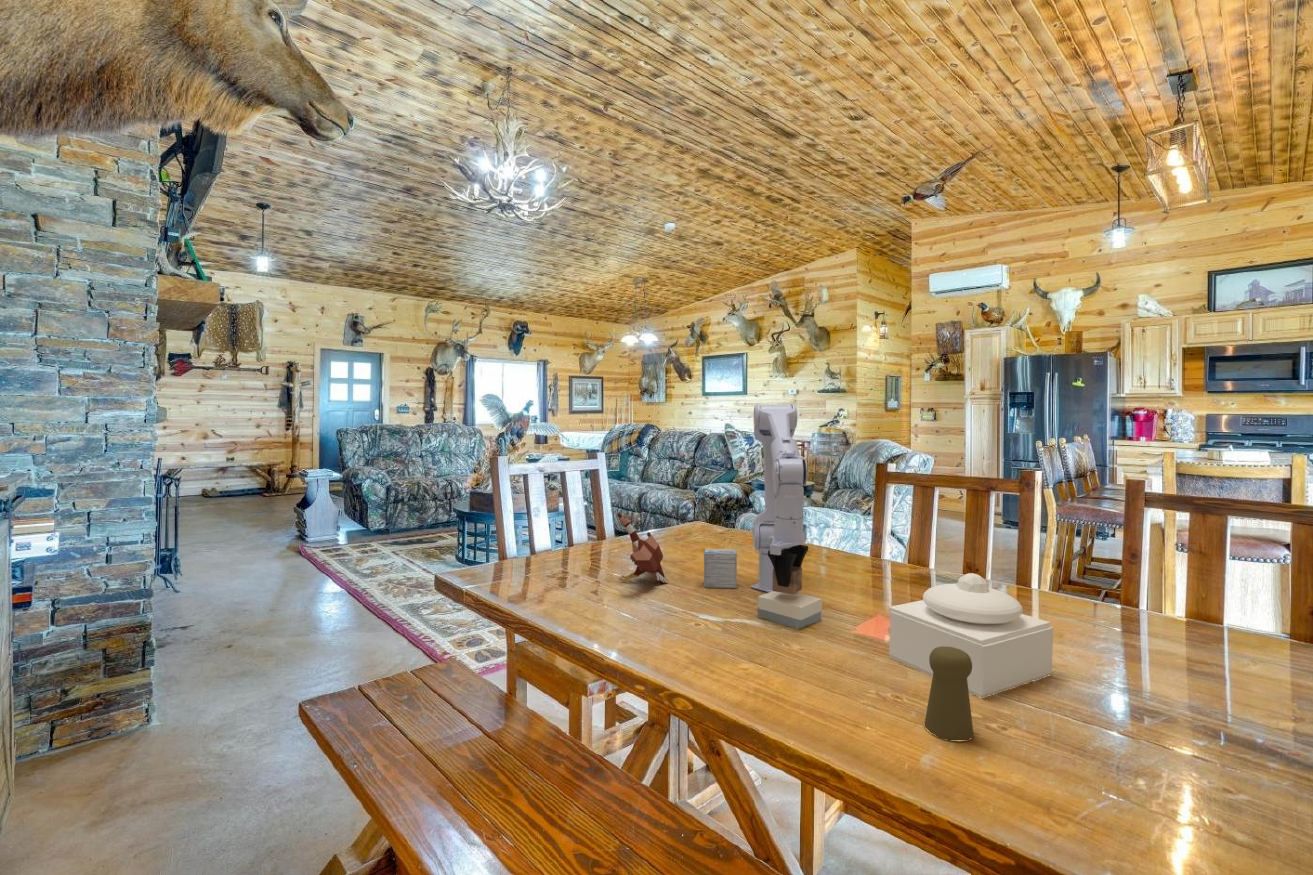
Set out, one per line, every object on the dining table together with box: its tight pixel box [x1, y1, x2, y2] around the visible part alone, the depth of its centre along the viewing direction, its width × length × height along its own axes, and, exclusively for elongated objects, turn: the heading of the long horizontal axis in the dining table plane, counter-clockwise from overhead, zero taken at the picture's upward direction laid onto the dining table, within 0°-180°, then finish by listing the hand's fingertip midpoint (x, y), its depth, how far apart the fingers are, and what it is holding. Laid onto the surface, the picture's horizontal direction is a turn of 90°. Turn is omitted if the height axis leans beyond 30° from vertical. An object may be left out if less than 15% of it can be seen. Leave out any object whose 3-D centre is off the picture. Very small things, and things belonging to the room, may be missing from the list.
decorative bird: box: [616, 511, 669, 585], centre depth 153 cm, size 28×18×15 cm, turn 172°
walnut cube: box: [773, 566, 803, 595], centre depth 127 cm, size 4×4×4 cm
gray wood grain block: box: [703, 548, 738, 589], centre depth 150 cm, size 8×4×9 cm, turn 84°
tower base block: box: [757, 607, 822, 630], centre depth 127 cm, size 8×10×2 cm
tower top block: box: [757, 591, 823, 620], centre depth 127 cm, size 8×10×2 cm
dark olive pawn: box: [924, 646, 975, 740], centre depth 83 cm, size 6×6×11 cm
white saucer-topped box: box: [888, 572, 1054, 699], centre depth 104 cm, size 18×18×16 cm
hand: (787, 583), depth 127 cm, fingers closed on walnut cube, 4 cm apart
